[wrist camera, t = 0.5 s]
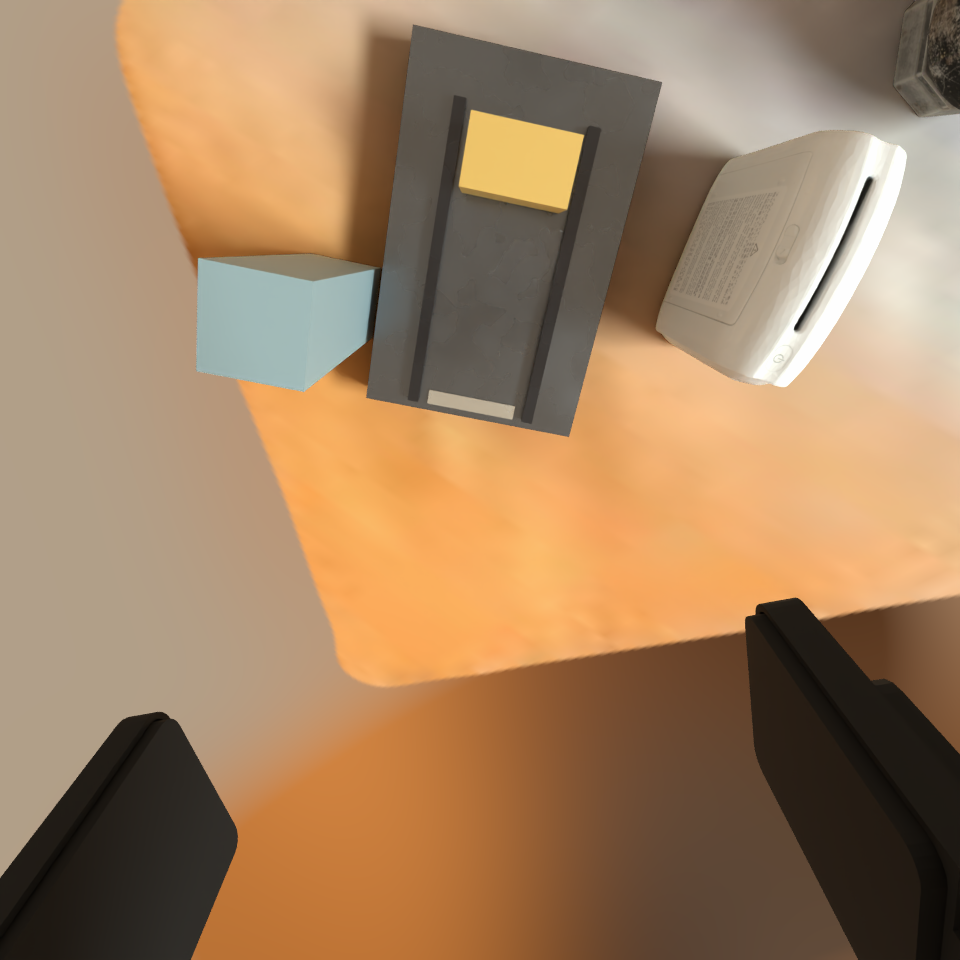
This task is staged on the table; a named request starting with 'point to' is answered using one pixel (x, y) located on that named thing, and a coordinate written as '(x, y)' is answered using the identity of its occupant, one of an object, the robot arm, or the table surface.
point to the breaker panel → (501, 236)
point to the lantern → (930, 58)
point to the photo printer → (780, 253)
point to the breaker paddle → (519, 162)
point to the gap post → (282, 316)
